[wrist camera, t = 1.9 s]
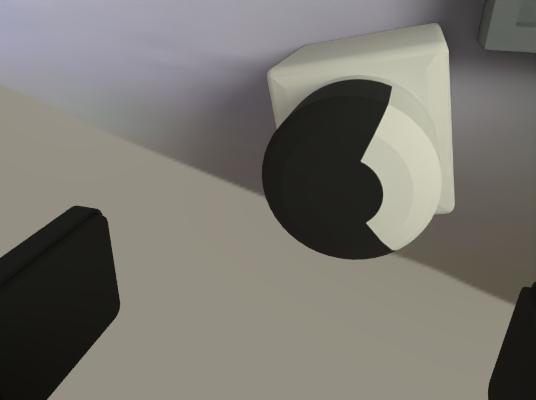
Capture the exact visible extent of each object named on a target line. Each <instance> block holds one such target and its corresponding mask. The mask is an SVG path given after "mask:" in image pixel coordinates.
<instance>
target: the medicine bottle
mask: <svg viewBox="0 0 536 400" xmlns="http://www.w3.org/2000/svg"><path fill="white" fill-rule="evenodd" d="M267 82H268V87H269V92H270V97H271V102H272V107H273V112H274V118H275V123H276V128H277V130H276V132H275V133H274V134H273V136H272V138H271V140H270V142H269V144H268V146H267V149H266V152H265V155H264V160H263V165H262V181H263V188H264V192H265V196H266V199H267V202H268V204H269V207H270V209H271V210H272V212H273V214H274V216H275V217H276V219H277V220H278V221H279V223H280V224H281V225H282V227H283V228H284V229H285V230H286V231H287V232H288V233H290V235H292V236H293V237H294V238H295V239H296V240H298V241H299V242H301V243H302V244H304V245H305V246H307V247H309V248H311V249H313V250H315V251H317V252H319V253H322V254H325V255H328V256H332V257H337V258H342V259H352V260H353V259H354V260H355V259H370V258H376V257H380V256H384V255H387V254H390V253H392V252H395V251H397V250H399V249H400V248H402V247H404V246H406V245H407V244H409V243H410V242H411V241H413V240H414V239H415V238H416V237H417V236H418V235H419V234H420V233H421V232H422V231H423V230H424V229H425V228H426V226H427V225H428V224H429V222H430V221H431V219H432V217H433V215H434V214H447V213H450V212H451V211H452V210H453V209H454V206H455V197H454V173H453V148H452V123H451V99H450V74H449V50H448V47H447V44H446V41H445V38H444V35H443V32H442V30H441V27H440V25H439V24H437V23H429V24H424V25H418V26H412V27H406V28H401V29H395V30H389V31H384V32H378V33H372V34H367V35H361V36H355V37H349V38H344V39H338V40H332V41H327V42H321V43H315V44H310V45H305V46H303V47H302V48H300V49H299V50H297V51H296V52H294V53H293V54H291V55H290V56H288V57H287V58H286V59H284V60H283V61H281V62H280V63H278V64H277V65H275V66H274V67H272V68H271V69H270V70H269V71H268V73H267Z"/></svg>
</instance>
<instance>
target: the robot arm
mask: <svg viewBox="0 0 536 400" xmlns="http://www.w3.org/2000/svg"><path fill="white" fill-rule="evenodd" d="M119 309H120V299H119V293H118V286H117V280H116V273H115V267H114V260H113V253H112V247H111V240H110V234H109V228H108V221H107V219H106V217H104V216H102V213H101V212H100V210H98V209H95V208H88V207H82V206H73V207H71V208H70V209H69V210H67V211H66V212H64V213H63V214H61V215H60V216H59V217H57V218H56V219H54V220H53V221H52V222H50V223H49V224H47V225H46V226H45V227H43V228H42V229H40V230H39V231H38V232H36V233H35V234H33V235H32V236H30V237H29V238H28V239H26V240H25V241H23V242H22V243H21V244H19V245H18V246H16V247H15V248H14V249H12V250H11V251H9V252H8V253H7V254H5V255H4V256H3V257H1V258H0V400H47V399H48V398H49V396H50V395H51V394H52V393H53V392H54V391H55V389H56V388H57V387H58V386H59V384H60V383H61V382H62V381H63V379H65V377H66V376H67V375H68V374H69V373H70V371H71V370H72V369H73V368H74V367H75V365H76V364H77V363H78V362H79V361H80V359H81V358H82V357H83V356H84V354H86V352H87V351H88V350H89V349H90V348H91V346H92V345H93V344H94V343H95V342H96V340H97V339H98V338H99V337H100V336H101V334H102V333H103V332H104V331H105V330H106V328H107V327H108V326H109V325H110V324H111V323H112V321H113V320H114V319H115V318H116V316H117V314H118V312H119ZM488 400H536V282H535V283H534V284H533V285H532V287H531V288H530V287H523V288H522V289H521V292H520V294H519V297H518V300H517V303H516V306H515V309H514V312H513V315H512V318H511V321H510V323H509V327H508V329H507V332H506V335H505V338H504V341H503V344H502V347H501V350H500V353H499V356H498V359H497V362H496V364H495V368H494V370H493V373H492V376H491V379H490V382H489V388H488Z"/></svg>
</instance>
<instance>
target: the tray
mask: <svg viewBox="0 0 536 400" xmlns="http://www.w3.org/2000/svg"><path fill="white" fill-rule="evenodd" d="M477 41H478V42H479V43H480V45H481V46H482V47H483V48H484V49H486V50H501V51H516V52H531V53H536V0H486V1H485V6H484V10H483V15H482V19H481V24H480V28H479V33H478V37H477Z"/></svg>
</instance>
